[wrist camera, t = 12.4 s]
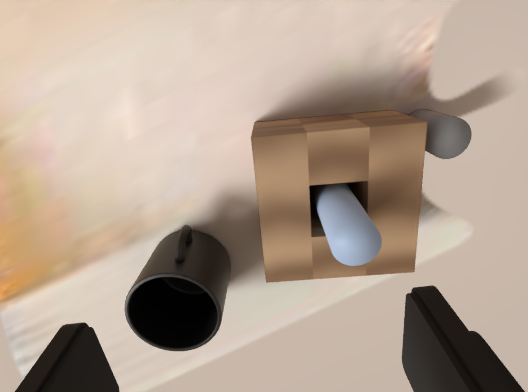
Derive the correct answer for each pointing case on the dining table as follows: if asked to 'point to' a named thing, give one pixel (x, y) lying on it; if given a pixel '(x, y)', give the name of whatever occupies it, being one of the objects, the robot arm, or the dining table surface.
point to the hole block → (338, 171)
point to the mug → (180, 292)
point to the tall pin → (346, 224)
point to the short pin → (444, 133)
